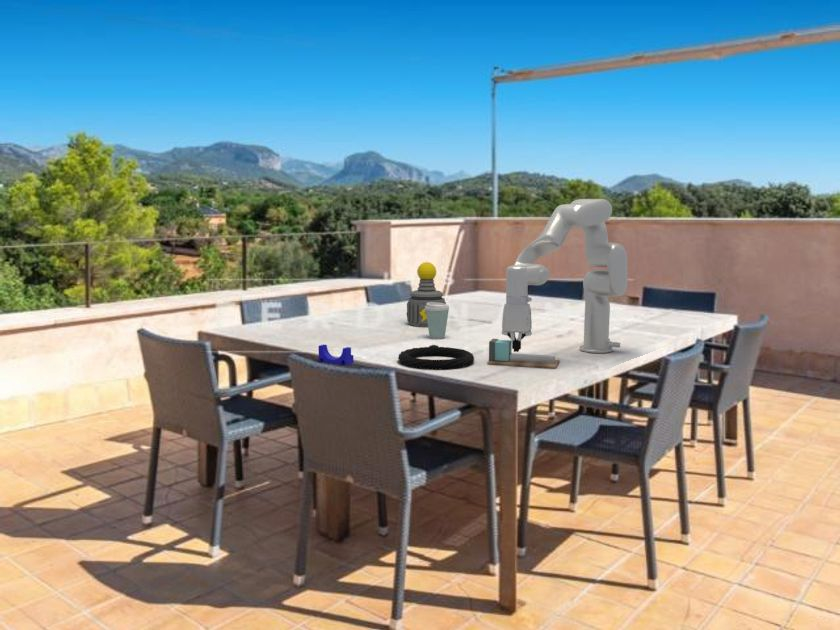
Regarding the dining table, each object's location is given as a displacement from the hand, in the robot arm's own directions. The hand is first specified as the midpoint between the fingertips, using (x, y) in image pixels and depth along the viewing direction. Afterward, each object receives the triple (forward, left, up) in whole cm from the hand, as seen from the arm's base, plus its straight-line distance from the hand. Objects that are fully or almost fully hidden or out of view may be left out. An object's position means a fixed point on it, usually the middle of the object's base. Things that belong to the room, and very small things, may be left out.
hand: (516, 351), depth 264 cm
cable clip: (+62, +19, -5) cm, 65 cm away
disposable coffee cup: (+41, -42, -5) cm, 59 cm away
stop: (+8, 0, -4) cm, 9 cm away
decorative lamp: (+56, -77, -5) cm, 95 cm away
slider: (+5, 0, -3) cm, 6 cm away
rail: (-3, 0, -4) cm, 5 cm away
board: (-3, 0, -4) cm, 5 cm away
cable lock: (+28, +6, -5) cm, 29 cm away
